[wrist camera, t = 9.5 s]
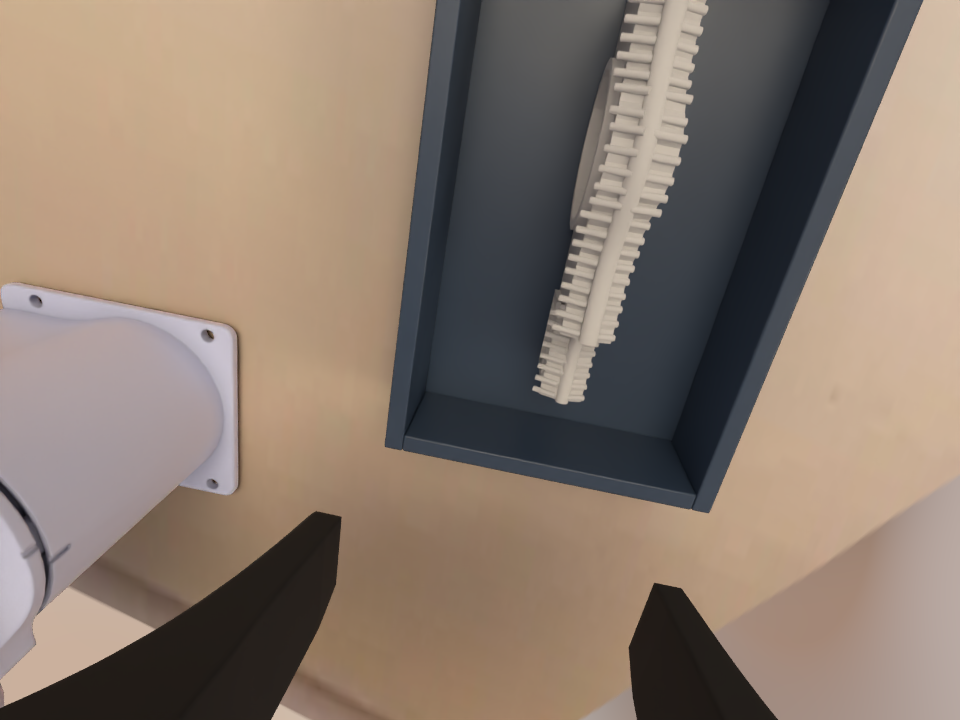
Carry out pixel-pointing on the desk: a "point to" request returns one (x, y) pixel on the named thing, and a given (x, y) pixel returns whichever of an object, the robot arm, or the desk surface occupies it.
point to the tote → (663, 258)
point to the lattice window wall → (620, 183)
